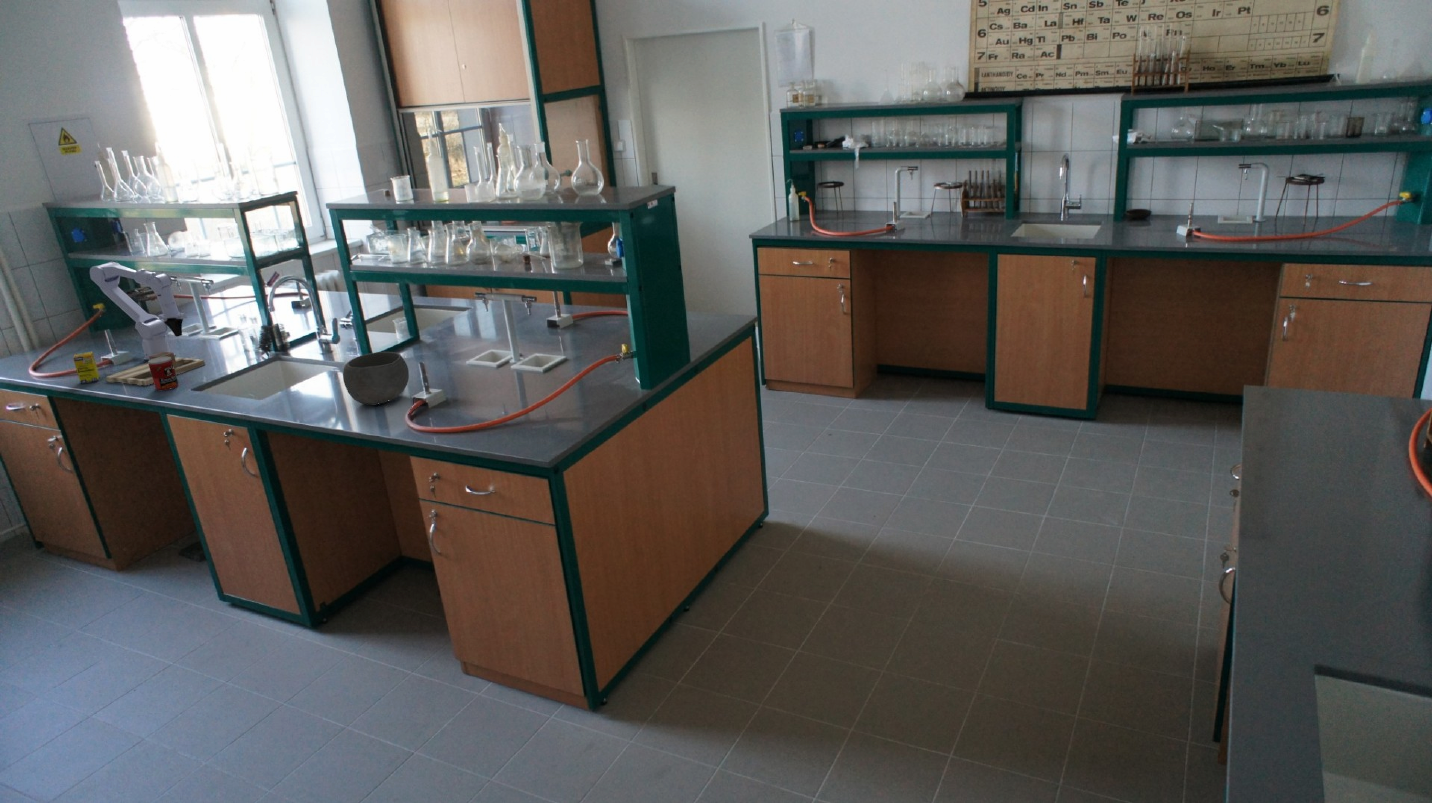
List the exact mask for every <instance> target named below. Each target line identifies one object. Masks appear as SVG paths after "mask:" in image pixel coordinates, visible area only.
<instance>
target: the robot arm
mask: <svg viewBox="0 0 1432 803" xmlns="http://www.w3.org/2000/svg"><path fill="white" fill-rule="evenodd" d="M89 277H90V279H91V281H92V282H94V283H95V284H96V285H97V286H98V287H99V289H100V290H101V292H102V293H103V294H104V295H105V296H107V297H108V298H109V299H110V300H111V301H112V302H113V303H114V304H115V305H116V306H117V307H119V308H120V309H121V310H122V311H123V312H124V313H125V314H126V315H128V316H129V318H131V319H132V320H133V321H134V322H135V326H134V328H135V330H136V331H137V332H138V333H139V336H141V337H142V338H143V339H142V341H141V346H142V349H143V353H144V356H145V357H143V360H148V361H149V360H150V358H149V356H152V355H155V354H158V353H161V352H171V350H170V347H169V343H168V340H167V336H166V335H167V332H168V329H170V330H171V332H172V333H173V335H174V336H175V337H181V336H183V329H182V328H183V326H182V325H183V322H184V319H186V318H187V313H183V312H180V311H179V308H178V305H177V303H176V300H175V296H174V294H173V291H172V287H171V286H172V283H173V281H172V278H171V276H170V275H169V274H167V273H165V272H161V273H157V272H155V271H154V272H152V271H148V270H147V268H141V269H137V270H135V269H132V268H129V267H127V266H124V265H122V264H120V263H119V262H114V261H109V262H106V263H102V264H100V265H94V266H91V267H90V268H89ZM121 277H122V278H127V279H131V280H134V281H135V283H137V284H141V285H144V286H147V287H149V288H151V290H152V291H153V292H154V295H156V298H157V301H158V304H159V306H160V309H161V312H162V313H161V314H158V315H156V314H150V313H148V312H147V311H146V310H144V309H143V308H142V307H141V306H140V305H139V304H138V303H136V301H134V300H133V299H132V298H131V297H130V296H129V295H128V294H127V293H126V292H124V290H122V289H121V288H120V287H119V285H120V282H121V281H120V280H121ZM174 356H175V357H176V353H174Z"/></svg>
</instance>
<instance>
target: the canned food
mask: <svg viewBox="0 0 1432 803" xmlns="http://www.w3.org/2000/svg"><path fill="white" fill-rule="evenodd" d="M147 363H148V364H149V368H150V371H151V374H152V378H153V381H154V384H153V385H154V388H155V389H156V390H157V391H160V390H162V391H166V390H165V389H169V390H171V389H170V388H173V389H176V388H177V387H178V386H179V381H178V379H177V375H176V373H175V369H174V366H173V362H172V359H171V357H168V356H164V357H157V358H154V359H151V360H148V361H147Z"/></svg>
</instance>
